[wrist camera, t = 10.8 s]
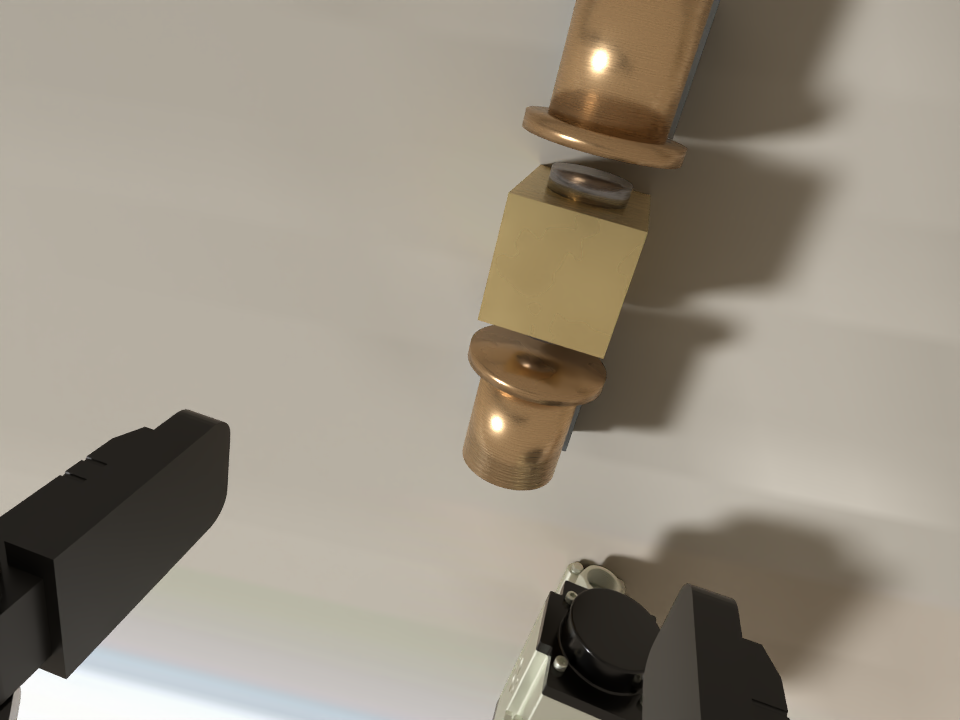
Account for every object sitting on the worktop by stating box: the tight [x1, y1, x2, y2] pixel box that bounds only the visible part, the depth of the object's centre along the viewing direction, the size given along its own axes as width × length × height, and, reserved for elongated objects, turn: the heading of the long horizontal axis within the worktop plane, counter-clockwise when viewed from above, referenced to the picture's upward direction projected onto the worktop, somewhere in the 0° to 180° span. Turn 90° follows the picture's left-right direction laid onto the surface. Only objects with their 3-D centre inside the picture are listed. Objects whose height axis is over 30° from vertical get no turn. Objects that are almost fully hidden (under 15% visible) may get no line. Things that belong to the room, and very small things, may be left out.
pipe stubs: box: [463, 0, 720, 490], centre depth 27 cm, size 6×20×7 cm, turn 167°
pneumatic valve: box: [493, 562, 660, 720], centre depth 33 cm, size 6×12×12 cm, turn 163°
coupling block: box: [478, 163, 650, 359], centre depth 27 cm, size 7×5×7 cm
